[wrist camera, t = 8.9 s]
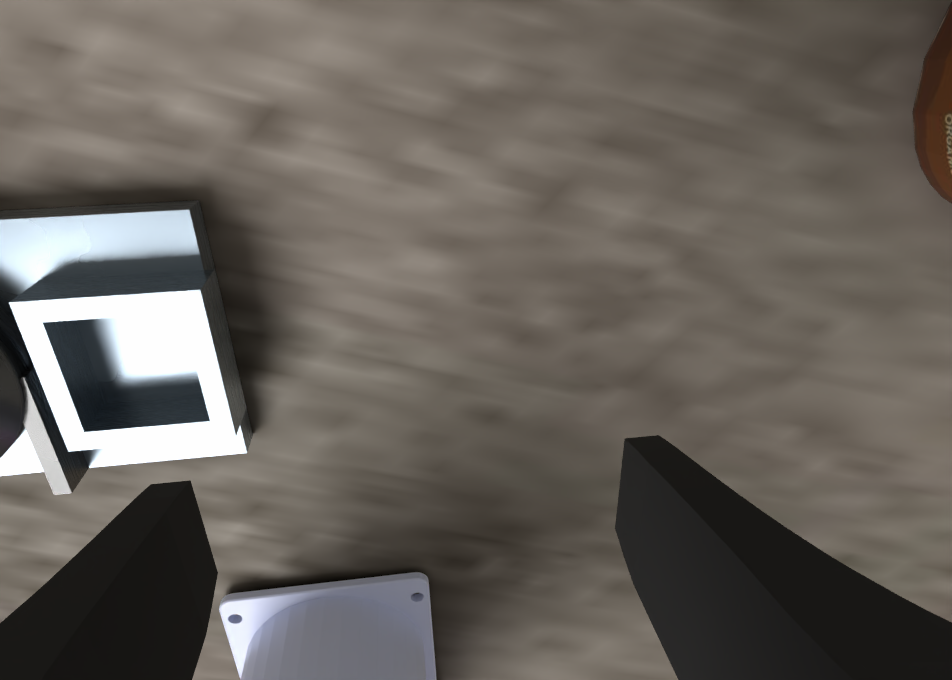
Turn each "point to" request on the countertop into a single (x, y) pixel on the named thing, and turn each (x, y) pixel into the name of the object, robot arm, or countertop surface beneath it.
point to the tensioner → (113, 341)
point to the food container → (936, 111)
